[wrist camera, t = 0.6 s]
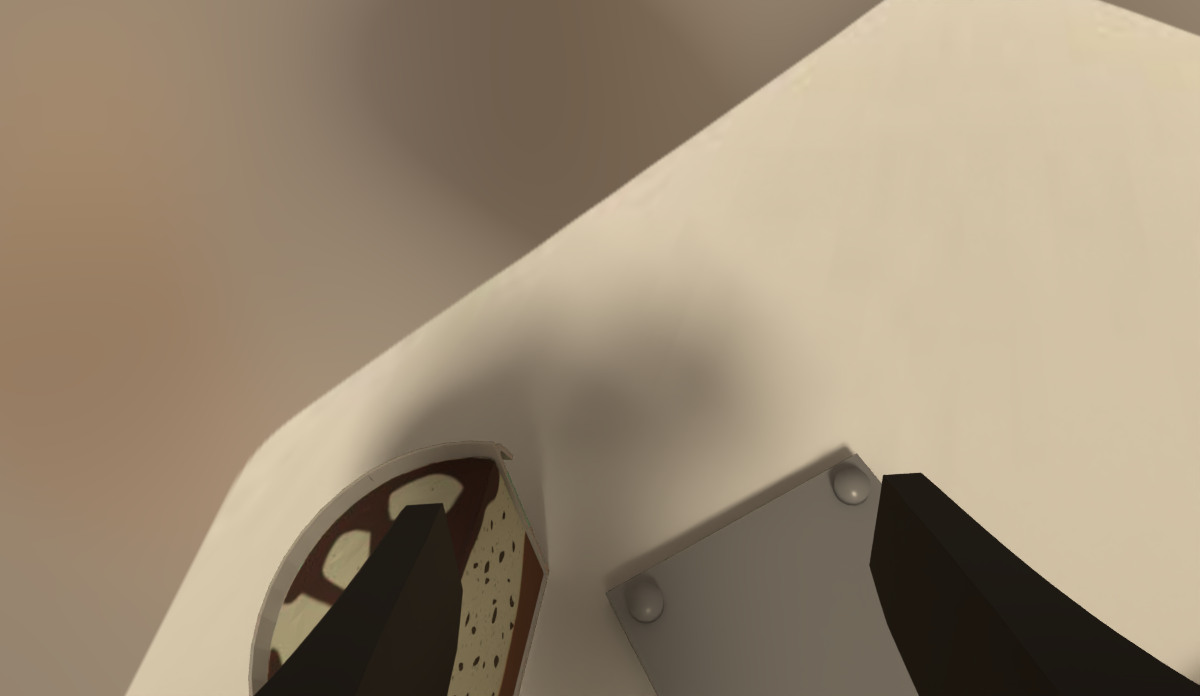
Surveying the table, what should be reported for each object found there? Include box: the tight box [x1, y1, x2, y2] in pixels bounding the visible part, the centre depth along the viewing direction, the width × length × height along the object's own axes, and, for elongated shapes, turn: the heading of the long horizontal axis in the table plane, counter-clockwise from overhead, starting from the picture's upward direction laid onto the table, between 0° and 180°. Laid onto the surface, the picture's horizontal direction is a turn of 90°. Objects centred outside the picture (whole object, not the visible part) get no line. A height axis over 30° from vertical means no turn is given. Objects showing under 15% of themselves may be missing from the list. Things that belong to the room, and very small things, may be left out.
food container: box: [248, 441, 549, 696], centre depth 26 cm, size 12×6×10 cm, turn 168°
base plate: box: [606, 454, 919, 696], centre depth 28 cm, size 12×12×2 cm
